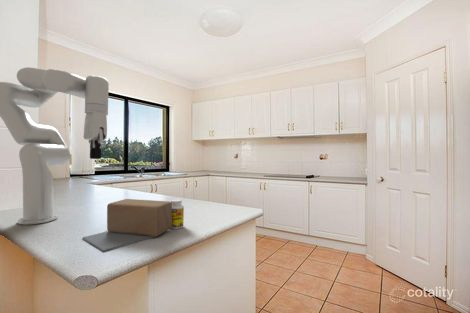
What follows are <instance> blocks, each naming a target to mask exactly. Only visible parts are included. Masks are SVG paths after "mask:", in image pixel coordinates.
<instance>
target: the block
mask: <svg viewBox="0 0 470 313" xmlns="http://www.w3.org/2000/svg"><path fill="white" fill-rule="evenodd" d="M106 207H107V208H106V210H107V212H106V231H109V232H118V233H127V234H137V235H147V236H155V237H159V236H160V235H162V234H164V233H165V232H167V231H170V229H171V227H172V203H171V201H168V200H167V201H166V200H151V199H150V200H148V199H132V198H124V199H120V200H117V201H113V202H110V203H108V204H107V206H106Z"/></svg>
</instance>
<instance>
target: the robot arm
mask: <svg viewBox="0 0 470 313" xmlns="http://www.w3.org/2000/svg"><path fill="white" fill-rule="evenodd" d="M16 79H17V81H18V82H19V83H20V84H21V85H20V84H17V83H13V82H7V81H0V118H1V120H2V121H3V123H4V124H5V126H6V128H7V130H8V131H9V133H10V135H11V136H12V139H14V141H15V142H16V144H18V145H21V146H22V147H21V148H20V149H19V153H18V156H19V157H18V158H19V161H20V165H21V170H22V171H21V172H22V173H21V174H22V217H21V218H19V219H18V220H17V224H18V225H28V226H29V225H37V224H38V225H39V224H44V223H49V222H52V221H56V220H57V219H58V214H55V213H54V176H53V174H52V171H51V170H50V169H49V168H48V167H56V166H57V167H59V166H64V165H66V164H68V163H69V162H70V160H71V151H70V149H69V147H68V145H67V144H66V142H65V141H64V139H63V137H62V136H61V134H60V132H59V131H58V130H57V129H56V128H55V127H53V126H51V125H47V124H38V123H36V122H34V121H33V120H32V119H31V117H30V115H29V114H28V113H27V112H26V111H25V110H24V109H23V108H21V107H20V106H23V107H27V108H28V107H29V108H34V109H35V108H40V107H42V106H43V105H45V103H47V102H48V101H49V100H50V99H52V98H53V97H54V96H55V95H56V94H57V93H63V94H67V95H71V96H74V97H79V98H82V99H84V114H85V117H84V126H83V140H86V141H88V143H89V159H92V160H100V159H102V158H101V157H102V147H103V146H102V144H103V143H104V140H106V139H107V136H108V135H107V134H108V121H107V120H108V119H107V116H108V115H109V112H108V111H109V85H110V83H109V80H108V79H107V78H105V77H104V76H101V75H100V76H99V75H87V76H86V78H85V77H82V76H79V75H78V74H77V75H76V74H74V73H71V72H68V71H63V70H59V69H51V68H49V69H41V68H35V67H22V68H20V69H19V70H18V71H17V72H16Z"/></svg>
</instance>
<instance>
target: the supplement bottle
mask: <svg viewBox="0 0 470 313" xmlns="http://www.w3.org/2000/svg"><path fill="white" fill-rule="evenodd" d="M170 202H171V203H172V227H171V229H172V230H178V229H182V228H183V227H184V217H185V216H184V214H185V211H184V210H185V208H184V207H185V206H184V205H183V204H182V203H183V202H182V199H178V198H177V199H171V200H170Z"/></svg>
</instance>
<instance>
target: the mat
mask: <svg viewBox="0 0 470 313" xmlns="http://www.w3.org/2000/svg"><path fill="white" fill-rule="evenodd" d="M155 237H156V236H147V235H137V234H127V233H118V232H109V231H108V230H106V231H104V232H97V233H95V234H91V235H87V236H82V240H84V241H85V242H86V243H89V244H90V245H91V246H93V247H95V248H96V249H98V250H100V251H101V252H102V253H104V252H107V251H110V250H111V251H112V250H115V249H119V248H123V247H124V246H128V245H132V244H135V243H138V242H142V241H145V240H149V239H152V238H155Z"/></svg>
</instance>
